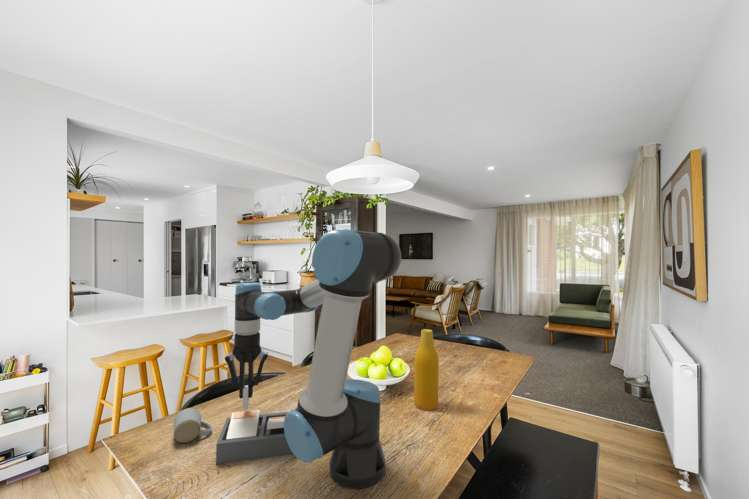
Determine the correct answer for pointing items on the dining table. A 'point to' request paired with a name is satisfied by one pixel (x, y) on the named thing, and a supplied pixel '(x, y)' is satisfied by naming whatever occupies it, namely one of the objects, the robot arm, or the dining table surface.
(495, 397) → the dining table surface
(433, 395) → the beer bottle
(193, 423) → the ceramic mug
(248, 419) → the breaker rocker
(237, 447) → the grey divided tray
